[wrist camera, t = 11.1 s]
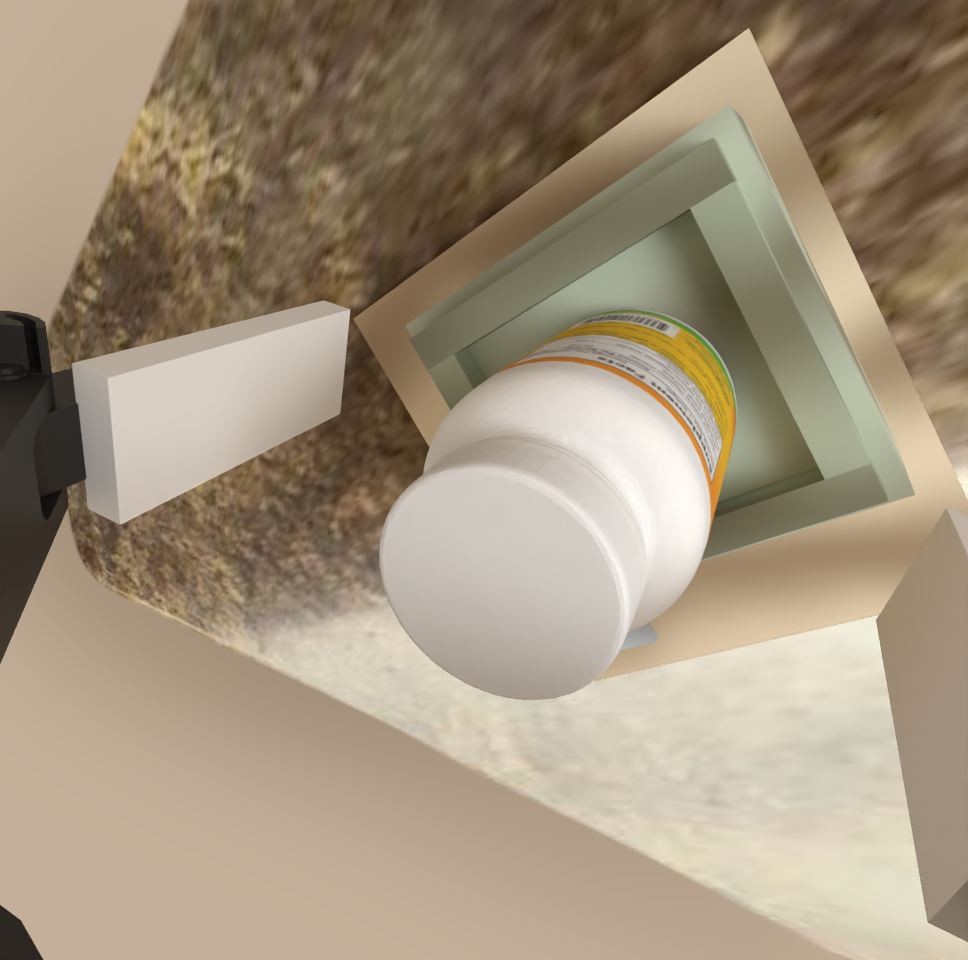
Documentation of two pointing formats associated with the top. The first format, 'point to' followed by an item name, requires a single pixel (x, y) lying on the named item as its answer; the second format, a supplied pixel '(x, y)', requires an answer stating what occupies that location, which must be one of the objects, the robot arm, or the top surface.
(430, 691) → the top surface
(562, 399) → the supplement bottle
